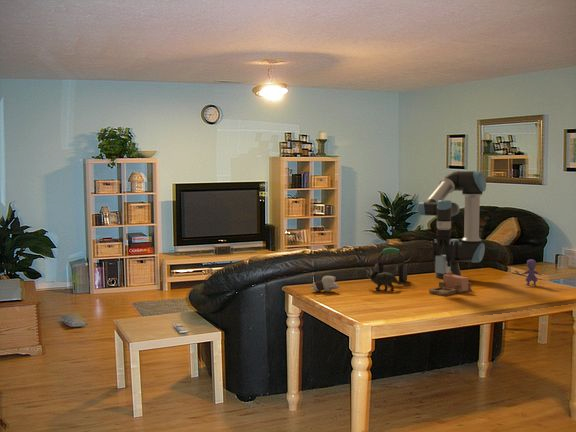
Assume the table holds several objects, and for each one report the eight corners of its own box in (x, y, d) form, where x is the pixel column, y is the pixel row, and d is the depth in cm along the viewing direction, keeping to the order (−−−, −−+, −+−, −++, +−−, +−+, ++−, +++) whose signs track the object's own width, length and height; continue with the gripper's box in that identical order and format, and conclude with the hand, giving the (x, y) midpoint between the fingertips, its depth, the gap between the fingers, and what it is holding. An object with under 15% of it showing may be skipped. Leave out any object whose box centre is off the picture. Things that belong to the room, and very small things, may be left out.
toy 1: (314, 301, 358) (341, 295, 359) (312, 288, 354) (339, 281, 354) (310, 288, 369) (336, 282, 370) (307, 275, 365) (333, 269, 366)
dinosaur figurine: (405, 289, 367) (405, 269, 366) (402, 292, 359) (402, 272, 358) (366, 287, 374) (366, 267, 373) (363, 290, 366) (363, 270, 365)
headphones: (407, 280, 395) (407, 247, 393) (407, 283, 384) (407, 249, 382) (375, 279, 398) (375, 246, 396) (374, 282, 387) (374, 249, 386)
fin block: (435, 272, 355) (435, 255, 355) (443, 271, 360) (443, 254, 359) (442, 273, 352) (443, 256, 351) (450, 272, 356) (451, 255, 355)
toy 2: (546, 284, 378) (546, 258, 376) (549, 286, 372) (549, 260, 371) (513, 284, 380) (513, 258, 378) (515, 286, 374) (516, 260, 373)
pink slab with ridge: (443, 287, 368) (443, 271, 368) (449, 286, 371) (449, 270, 370) (461, 291, 356) (461, 274, 356) (468, 290, 359) (468, 274, 358)
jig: (426, 292, 359) (426, 284, 358) (450, 287, 373) (450, 279, 372) (447, 296, 348) (447, 288, 348) (471, 290, 362) (471, 282, 362)
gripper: (425, 228, 358) (425, 270, 360) (453, 230, 344) (452, 274, 346) (434, 227, 363) (433, 268, 365) (462, 229, 349) (461, 273, 351)
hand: (443, 271), depth 356 cm, fingers closed on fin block, 5 cm apart
